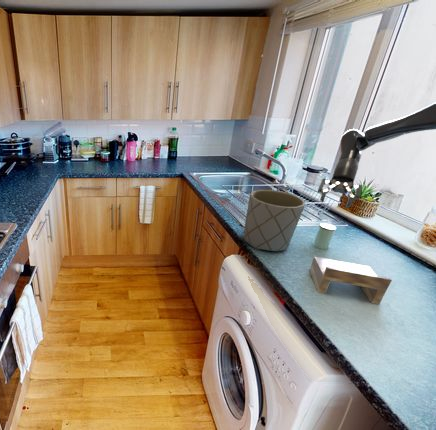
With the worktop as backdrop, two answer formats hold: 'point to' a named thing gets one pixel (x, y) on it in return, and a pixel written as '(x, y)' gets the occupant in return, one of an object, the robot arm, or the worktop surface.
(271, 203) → the planter
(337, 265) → the wooden riser stand
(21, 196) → the worktop surface
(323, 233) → the jar
